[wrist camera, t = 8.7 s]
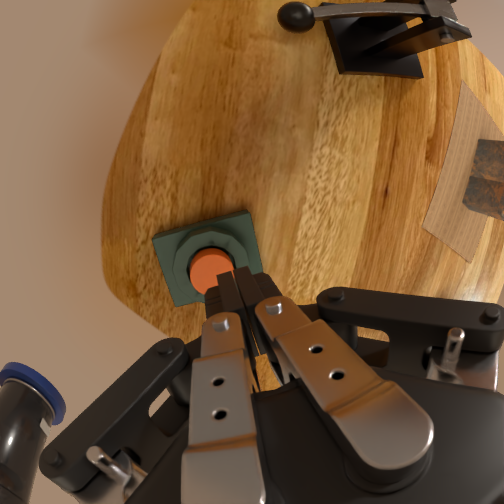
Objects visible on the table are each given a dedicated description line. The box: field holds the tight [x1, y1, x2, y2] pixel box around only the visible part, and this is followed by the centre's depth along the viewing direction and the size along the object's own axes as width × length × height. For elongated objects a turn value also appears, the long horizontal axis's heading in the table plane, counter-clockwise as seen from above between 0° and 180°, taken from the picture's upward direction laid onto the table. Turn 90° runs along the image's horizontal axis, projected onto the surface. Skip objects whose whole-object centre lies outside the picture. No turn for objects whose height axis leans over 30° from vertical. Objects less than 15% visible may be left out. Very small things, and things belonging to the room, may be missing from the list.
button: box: [190, 248, 235, 294], centre depth 23 cm, size 4×4×2 cm
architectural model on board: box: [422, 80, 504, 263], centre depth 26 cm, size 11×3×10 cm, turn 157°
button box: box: [152, 210, 263, 307], centre depth 25 cm, size 9×7×4 cm
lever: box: [277, 0, 457, 33], centre depth 14 cm, size 16×3×3 cm, turn 103°
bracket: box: [318, 0, 472, 79], centre depth 16 cm, size 12×9×13 cm
